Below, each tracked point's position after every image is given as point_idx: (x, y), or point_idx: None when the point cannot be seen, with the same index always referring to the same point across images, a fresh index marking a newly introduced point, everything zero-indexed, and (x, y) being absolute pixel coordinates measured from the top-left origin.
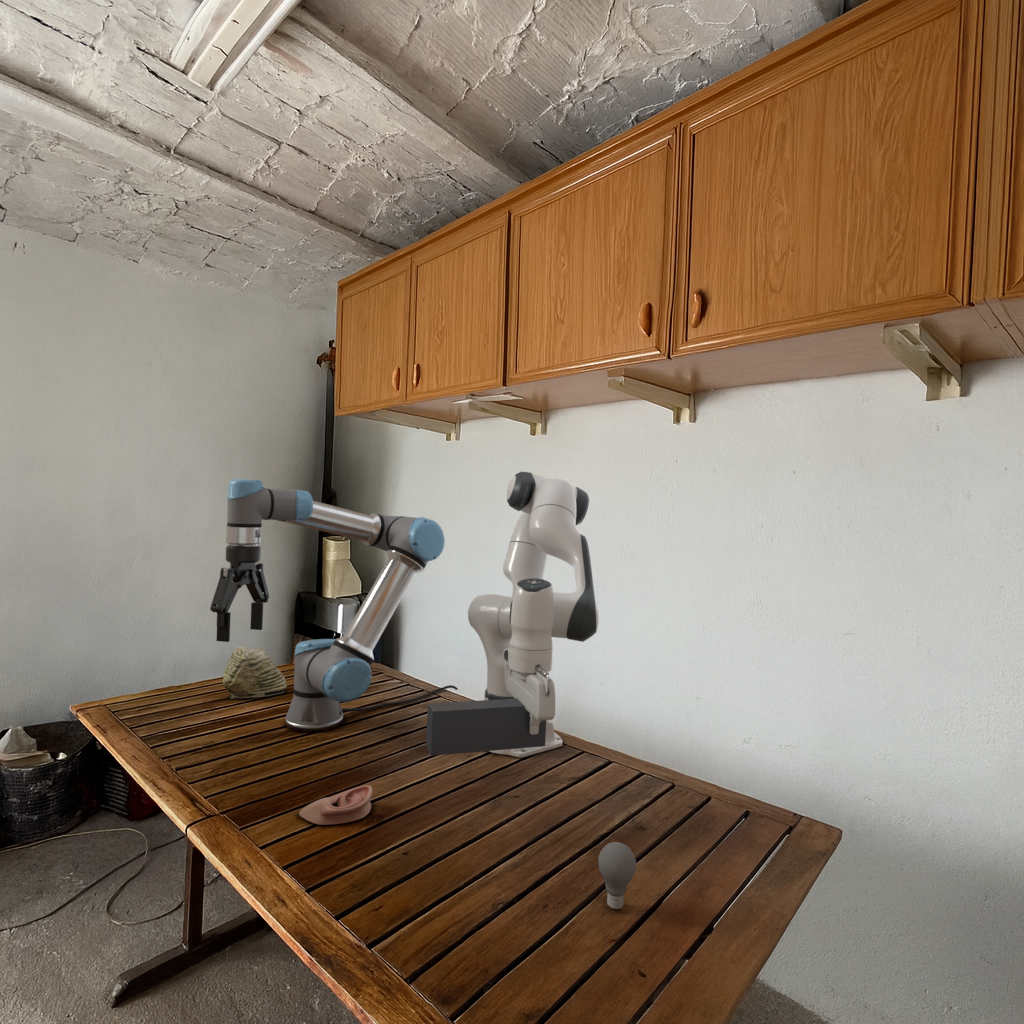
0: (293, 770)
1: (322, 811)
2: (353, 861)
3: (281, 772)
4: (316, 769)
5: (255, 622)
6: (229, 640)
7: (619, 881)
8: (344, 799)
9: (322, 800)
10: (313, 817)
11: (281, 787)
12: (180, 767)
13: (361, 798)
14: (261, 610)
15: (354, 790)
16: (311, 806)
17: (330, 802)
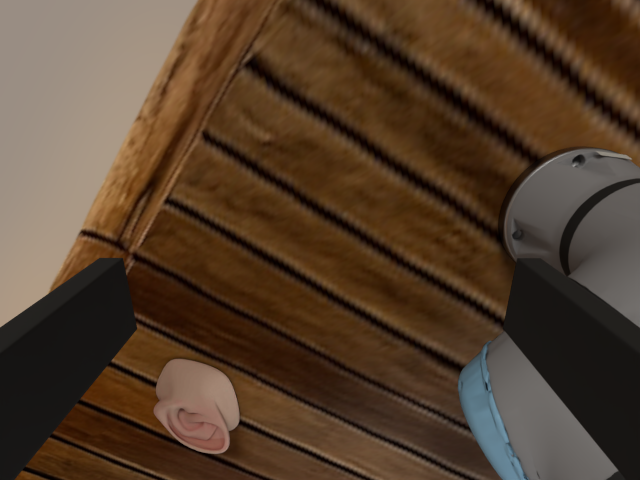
0: (310, 285)
1: (155, 407)
2: (105, 449)
3: (297, 270)
4: (324, 318)
5: (538, 322)
6: (133, 331)
7: None
8: (193, 421)
9: (190, 391)
10: (160, 386)
11: (243, 297)
12: (260, 63)
13: (205, 439)
14: (603, 449)
15: (219, 427)
16: (175, 380)
17: (181, 407)
